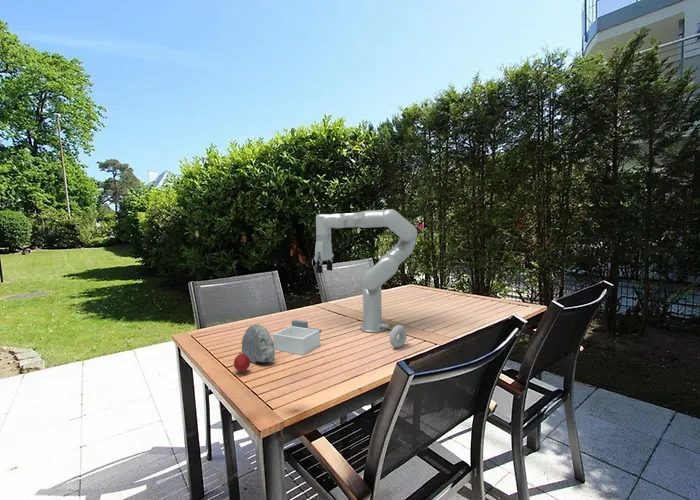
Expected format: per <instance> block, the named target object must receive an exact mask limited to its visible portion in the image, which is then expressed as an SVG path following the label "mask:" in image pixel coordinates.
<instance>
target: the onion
mask: <svg viewBox="0 0 700 500" xmlns="http://www.w3.org/2000/svg"><path fill="white" fill-rule="evenodd" d="M250 365H251V361H250V360H249V358H248V356H247V355H245V354H243V352H242V351H240V352H239V354H238V355H237V356H236V357H235V358H234V360H233V368H234V369H235V370H236V371H237V372H239V373H241V374H242V373H245V372H246V371H247V370H248V369H249V366H250Z"/></svg>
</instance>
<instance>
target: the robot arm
mask: <svg viewBox="0 0 700 500" xmlns="http://www.w3.org/2000/svg"><path fill="white" fill-rule="evenodd" d="M383 227H385V228H386V227H387V228H388V229H390V231H391V232H393V233H394V234H395V235H396V236H398V237H399V239H398V241H397V243H396V244H395V245H394V246H393V247H392V248H391V249H390V250H388V251H387V252H386V253H385V254H384V255H383V256H382V255H381V257H380V259H379V260H378V262H377V263H375V264H374V265H373V266H372V267H370V268H367V269H365V270H364V272H363V273H362V277H361V278H362V279H361V281H362V282H361V283H362V321H363V322H362V325H360V327H359V329H360V330H361V331H362V332H365V333H373V334H374V333H381V332H383V331H384V330H385V329H389V328H390V325H389V323H385V322H384V319H382V315H383V313H382V285H385V283H386V282H387V281H388V280H390V279H391V278H392V277H393V276H395V274H396V273H397V272H398V269H399V266H400V265H401V264H402V263H403V262H404V261H405V260H406V259H407V258H408V257H410V255H411V254H412V252H413V251H414V249H415V247H416V239H417V237H418V229H417V228H416V227H415V226H414V225H413V224H412V223H411V222H410V221H408V219H406V218H405V217H404V216H402V214H400V213H399V212H398V211H397V210H395V209H393V208H390V209H389V208H387V209H376V210H375V209H374V210H373V209H372V210H363V211H359V212H349V213H347V212H346V213H332V214H331V213H320V214H319V213H318V214H317V215H316V216H315V230H316V231H315V234H316V236H315V237H316V238H315V240H316V241H315V244H314V245H315V247H314V250H315V251H314V257H313V260H314V263H315V268H316V274H322V273H323V262H325V261H326V271H330V272H331V271H333V262H334V261H333V260H334V256H335V254H334V253H333V245H332V229H344V228H362V229H363V228H365V229H366V228H383Z"/></svg>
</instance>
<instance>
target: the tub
mask: <svg viewBox="0 0 700 500" xmlns="http://www.w3.org/2000/svg"><path fill="white" fill-rule="evenodd" d="M320 333H321V332H319V330H314V329H308V328H301V327H295V326H292V325H290V326H288V327H285V328H284V329H281V330H279V331H276V332H275V333H272V341H273V344H274V350H275V351H279V352H284V353H291V354H294V355H300V356H304V355H306V354H308V353H309V352H311V351H314V349H316V348H318V347H319V346H320V345H321V341H320V340H321V339H320V337H321V336H320Z"/></svg>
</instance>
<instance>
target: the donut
mask: <svg viewBox="0 0 700 500" xmlns="http://www.w3.org/2000/svg"><path fill="white" fill-rule="evenodd" d="M407 336H408V334H407V329H406V328H405V327H404V325H402V324H397V325H394V327H393V328H392V329H391V331H390V333H389V343H390V345H391V346H392V347H393V348H395V349H398V348H401V347H403V346H404V345H405V343H406V340H407Z"/></svg>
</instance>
